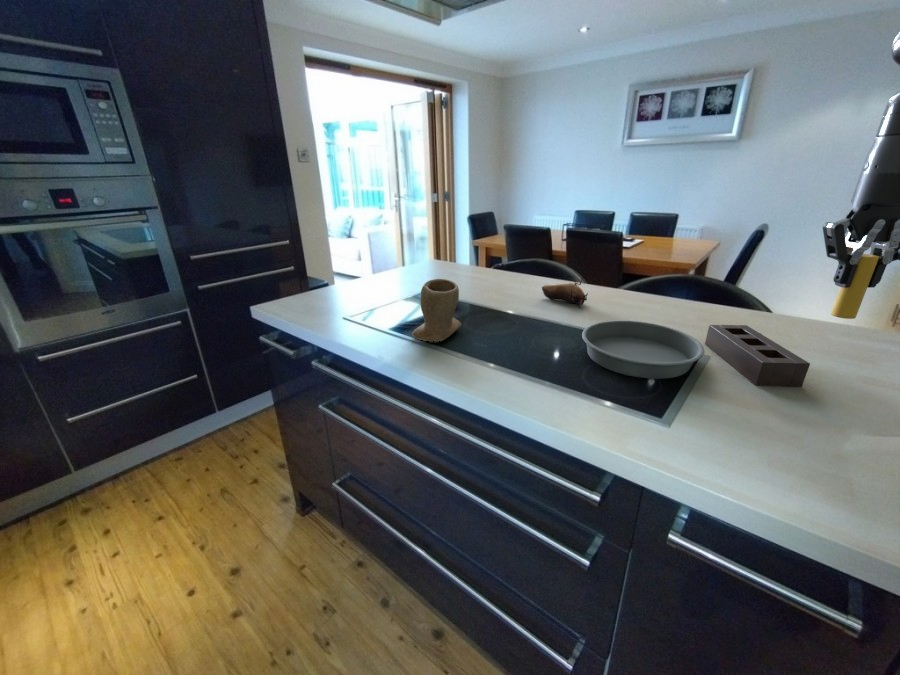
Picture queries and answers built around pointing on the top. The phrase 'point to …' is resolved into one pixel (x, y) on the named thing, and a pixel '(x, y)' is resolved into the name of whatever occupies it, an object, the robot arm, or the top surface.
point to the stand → (756, 356)
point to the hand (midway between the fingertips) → (854, 285)
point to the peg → (855, 289)
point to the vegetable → (565, 292)
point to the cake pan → (641, 349)
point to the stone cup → (438, 310)
